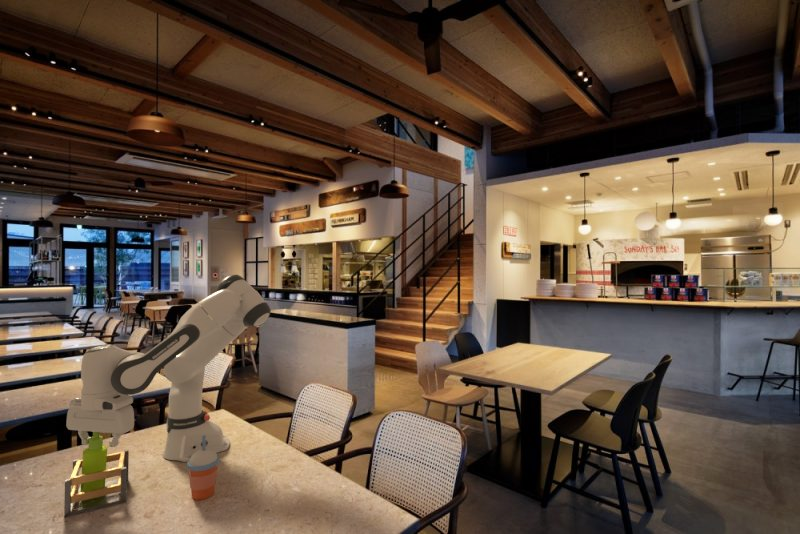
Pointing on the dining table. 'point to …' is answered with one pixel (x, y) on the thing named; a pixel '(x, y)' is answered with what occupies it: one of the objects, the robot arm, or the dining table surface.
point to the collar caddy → (101, 496)
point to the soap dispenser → (94, 461)
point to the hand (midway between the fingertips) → (100, 445)
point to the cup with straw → (203, 472)
